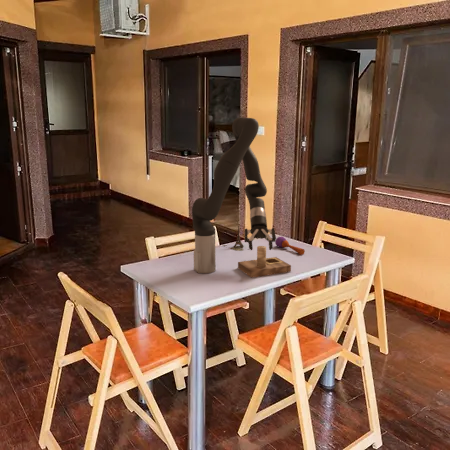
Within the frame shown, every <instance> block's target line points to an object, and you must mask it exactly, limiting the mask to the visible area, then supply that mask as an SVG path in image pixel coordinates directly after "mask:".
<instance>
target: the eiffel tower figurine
mask: <svg viewBox="0 0 450 450" xmlns="http://www.w3.org/2000/svg"><path fill="white" fill-rule="evenodd" d="M237 228H238V229H237V237H236V241H235V244H234V245H233V247H229V249H230V250H233V251H235V252H236V251H237V252H242V251H245V249H244V246H245V245H244V244H243V243H242V241H241V237H240V225H237ZM222 246H223V247H225V246H227V245H225V244H224V245H223V244H222ZM247 250H250V251H251V249H249V248H248V249H247Z"/></svg>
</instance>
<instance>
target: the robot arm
mask: <svg viewBox="0 0 450 450" xmlns="http://www.w3.org/2000/svg"><path fill="white" fill-rule="evenodd" d="M259 127H260V125H259V122H258V120H257V119H255V118H253V117H237V118H235V119H234V120H233V122H232V132H233V133H232V134H233V136H234V139H235V143H234V144H233V145H232V146H231V147H230V148H229V149H228V150H227V151H225V152H224V153H223V154H222V155H221V157H220V158H219V159H218V162H217V164H216V166H215V167H214V171H213V188H212V190H211V192H210V195H209V196H208V198H205V197H204V198H203V197H198V198H196V199H195V201H194V202H193V204H192V207H191V213H192V214H191V217H192V227H193V231H194V249H193V270H194V271H195V272H196V273H197V274H211V273H214V272H215V271H216V228H215V226H214V225H213V224H212V223H211V221H213V220H215V218H216V219H217V216H218V215H219V212H220V210H221V207H222V204H223V201H224V200H225V197H226V194H227V192H228V191H229V187H230V185H231V183H232V182H233V179H234V178H235V175H236V173H237V171H238V169H239V168H240V165H241V164H242V163H243V169H244V173H245V175H244V176H245V179H246V180H247V181H250V182H255V183H248V184H246V186H245V187H244V193H245V195H246V198H247V200H248V204H249V220H250V221H249V222H250V229H248V228H245V229H244V235H243V236H244V243H248V249H250V251H253V249H254V248H253V241H254V240H255V239H257V240H258V239H261V240H264V239H265V241H267V242H268V250H270V251H271V250H272V249H273V243H275V241H276V239H277V236H276V235H277V234H276V231H275V228H274V227H272V228H271V229H270V228H268V223H267V222H268V221H267V212H266V207H265V201H264V199H262V198H263V197H265V196H267V192H268V190H267V189H268V188H267V187H266V184H265V182H264V180H263V178H262V175H261V171H260V165H259V160H258V159H257V157H256V154H254V152H253V150H252V148H251V144H252V143H253V142H254V139H256V137H257V135H258V132H259V129H260V128H259ZM241 162H242V163H241ZM249 234H251V236H250V237H249V238H248V235H249ZM270 235H271V236H270Z"/></svg>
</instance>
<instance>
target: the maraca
mask: <svg viewBox="0 0 450 450" xmlns="http://www.w3.org/2000/svg"><path fill="white" fill-rule="evenodd" d="M274 243H275V246H276V247H277V248H289V249H290V250H293V251H294V252H295V253H296V254H298V255H300V256H302V255H304V254H305V252H306V251H305V249H304V248H300V247H297V246H295V245H291V244H290V243H289V241H288V240H287V239H286V238H285V237H284V236H278V237H276V240H275V242H274Z"/></svg>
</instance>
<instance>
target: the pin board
mask: <svg viewBox="0 0 450 450" xmlns="http://www.w3.org/2000/svg"><path fill="white" fill-rule="evenodd" d="M237 269H238V270H240V271H241V272H243V273H244V274H246V275H247V276H248V277H250V278H252V279H253V278H257V277H264V276H270V275H271V276H272V275H278V274H283V273H284V274H285V273H291V272H292V265H291V264H289V263H287V262H285V261H284V260H282V259H280V258H278V257H277V256H273V257H266V267H265V268H259V267H257V259H251V260H250V259H249V260H243V261H242V260H241V261H237Z"/></svg>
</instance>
